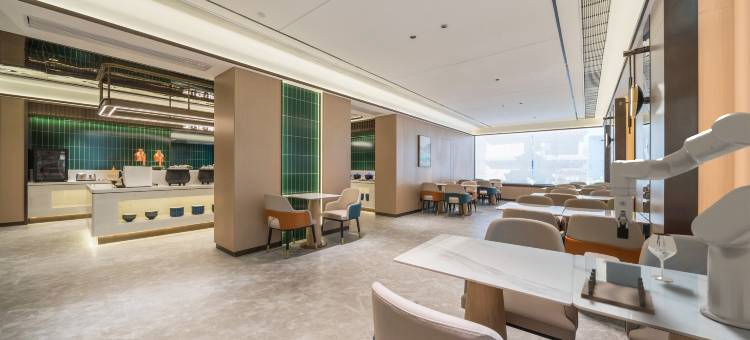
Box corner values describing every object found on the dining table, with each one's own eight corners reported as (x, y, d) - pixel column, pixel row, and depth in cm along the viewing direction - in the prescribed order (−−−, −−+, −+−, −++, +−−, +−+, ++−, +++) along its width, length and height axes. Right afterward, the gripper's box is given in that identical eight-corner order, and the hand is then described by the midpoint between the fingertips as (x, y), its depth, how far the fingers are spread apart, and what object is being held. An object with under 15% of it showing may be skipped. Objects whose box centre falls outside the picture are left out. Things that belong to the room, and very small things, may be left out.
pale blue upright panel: (640, 286, 106) (640, 265, 106) (641, 288, 104) (641, 266, 104) (606, 279, 113) (606, 259, 113) (606, 281, 111) (606, 261, 111)
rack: (649, 294, 99) (649, 278, 99) (654, 314, 85) (654, 295, 85) (586, 280, 111) (586, 266, 111) (581, 296, 97) (580, 280, 97)
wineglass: (663, 275, 118) (663, 232, 118) (683, 282, 110) (683, 237, 110) (642, 274, 119) (642, 232, 119) (660, 282, 110) (660, 236, 111)
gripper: (637, 194, 100) (636, 242, 100) (635, 191, 113) (634, 234, 113) (609, 193, 105) (609, 238, 105) (610, 190, 118) (610, 231, 118)
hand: (622, 236), depth 109 cm, fingers open, 9 cm apart
